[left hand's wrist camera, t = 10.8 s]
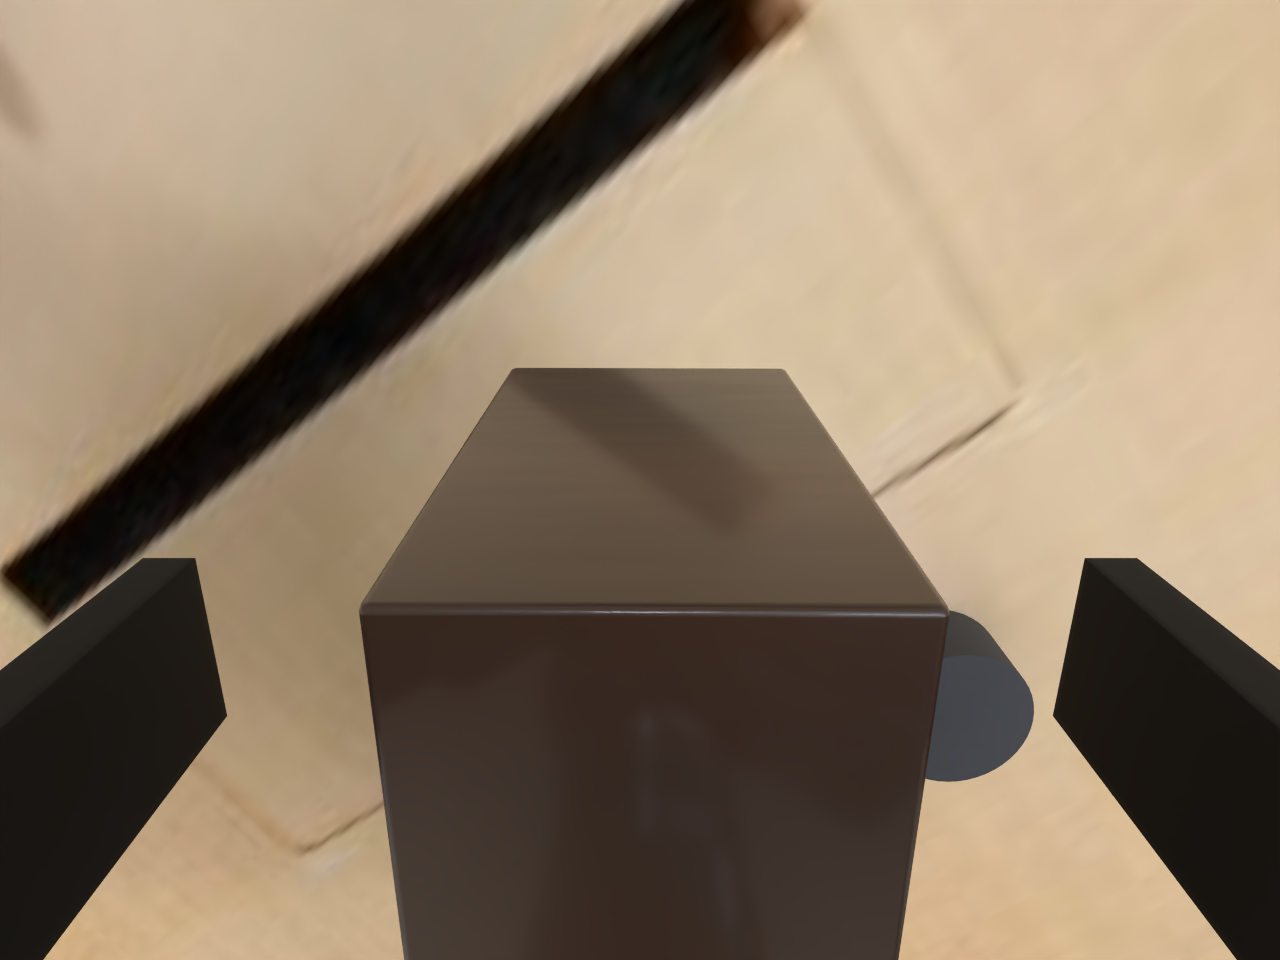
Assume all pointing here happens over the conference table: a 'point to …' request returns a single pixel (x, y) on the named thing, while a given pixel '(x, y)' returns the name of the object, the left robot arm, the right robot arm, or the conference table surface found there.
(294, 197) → the conference table surface
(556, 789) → the bar
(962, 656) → the puck
